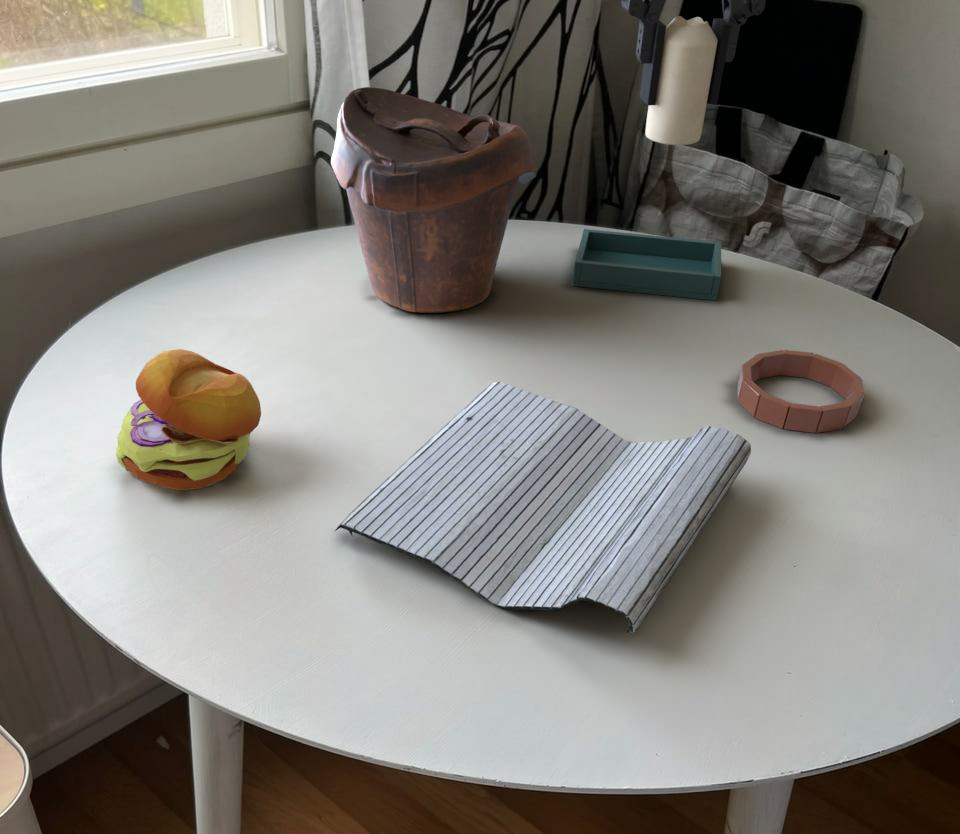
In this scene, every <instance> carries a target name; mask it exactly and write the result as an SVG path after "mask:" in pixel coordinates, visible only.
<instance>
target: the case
mask: <svg viewBox="0 0 960 834" xmlns="http://www.w3.org/2000/svg"><path fill="white" fill-rule="evenodd" d="M533 158H534V157H533V152H532V146H531V142H530V138H529V136H528V134H527V132H526V131H525V130H524V129H523V128H522V127H521V126H520V125H518V124H513V123H509V122H506V121H501V120H497V119H496V118H493V117H492V116H491V115H488V114H486V113H485V114H480V115H478V116H475V115H471V114H466V113H463V112H461V111H459V110H455V109H453V108H450V107H447V106H446V105H445V106H444V105H442V104H439V103H436V102H432V101H429V100H426V99H422V98H419V97H416V96H413V95H409V94H404V93H401V92H397V91H394V90H391V89H387V88H382V87H381V88H380V87H373V86H365V87H359V88H356V89H353V90H351V91H350V92H349V93H348V94H347V95H346V96H345V98H344V100H343V102H342V104H341V106H340V108H339V111H338V115H337V121H336V133H335V140H334V145H333V151H332V154H331V158H330V165H331V168H332V169H333V173H334V174H335V177H336V179H337V180H338V183H339V186H340V187H341V188H343V190H346V195H347V197H348V198H347V199H348V203H349V207H350V210H351V214H352V217H353V221H354V225H355V230H356V233H357V236H358V241H359V246H360V249H361V253H362V256H363V260H364V263H365V264H364V265H365V267H366V271H367V275H368V279H369V284H370V287H371V290H372V291H373V293H374V295H376V296H377V297H378V298H379V299H380V300H381V301H383V302H384V303H387V304H389V305H391V306H393V307H396V308H397V309H400V310H402V311H406V312H411V313H422V314H423V313H424V314H439V313H449V312H450V313H451V312H456V311H462V310H466V309H470V308H474V307H475V306H477V305H479V304H482V303H483V302H484V301H485V300H486V299H487V298H488V297H489V295H490V294H491V290H492V285H493V279H494V275H495V272H496V268H497V263H498V260H499V256H500V252H501V249H502V244H503V241H504V237H505V234H506V230H507V227H508V222H509V219H510V218H509V217H510V214H511V210H512V206H513V202H514V198H515V194H516V190H517V186H518V183H519V184H520V185H524V184H527V183H528V182H531V181H532V180H533V179H535V177H537V171H536V169H535V162H534V159H533Z"/></svg>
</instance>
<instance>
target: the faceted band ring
mask: <svg viewBox="0 0 960 834" xmlns="http://www.w3.org/2000/svg"><path fill="white" fill-rule="evenodd" d="M776 376H786V377H794V378H804V379H809V380H812V381H814V382H817V383H819V384H822V385H825V386H827V387H830V388H832V389H833V390H834V391H835V392H836V393H837V394H839V396H841V397H842V398H843V399H844V401H842V402H836V403H831V404H825V405H820V406H819V405H811V404H803V403H793V402H789V401H787V400H785V399H783V398H780V397H777V396H774V395H772V394H770V393H767V392H765V391H764V390H763V389H762V388H761V387H760V386H759V385H757V384H756V383H755V382H756V381H758V379H764V378H770V377H776ZM736 388H737V402H738V404H739V405H741V406H742V408H743V409H745V410H746V411H747V413H749V414H750V415H751V416H752V417H753V418H754V419H757V420H759V421H762V422H764V423H766V424H769V425H771V426H774V427H776V428H779V429H781V430H785V431H796V432H802V433H812V434H815V433H816V434H819V433H824V432H829V431H835V430H840V429H843V428H845V427H847V425H848V424H850V423H851V422H852V421H853V420H854V419H855V418H857V417H858V414H859V411H860V408H861V405H862V403H863V400H864V396H865V393H866V392H865V387H864V384H863V379H862V378H861V376H859V375H858V374H857V373H856V372H854V371H853V370H852V369H851V368H849V367H848V366H847V365H846V364H845V363H842V362H840V361H838V360H835V359H832V358H829V357H827V356H824V355H822V354H818V353H815V352H811V351H810V352H808V351H800V350H791V349H779V350H773V351H768V352H760V353H758V354H755V355H754V356H753V357H751V358H750V359H748V360H747V361H746V362H745V363H743V364H742V366H741V369H740V374H739V378H738V382H737V386H736Z"/></svg>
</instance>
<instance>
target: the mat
mask: <svg viewBox="0 0 960 834" xmlns="http://www.w3.org/2000/svg"><path fill="white" fill-rule="evenodd" d="M751 454H752V445H751V442H749V441H748V440H747V439H746V438H744V437H743V436H742V435H741V434H738V433H735V432H732V431H729V430H727V429H723V428H720V427H715V426H710V425H707V426H705V427H702V428H699V430H697V432H695V433H694V434H693V435H691V436H688V437H686V438H679V439H678V438H677V439H668V440H664V441H663V440H662V441H642V442H641V441H640V442H635V441H628V440H625V439H624V438H622V437H621V436H619V435H618V434H616V433H615V432H613V431H612V430H610V429H609V428H607V427H606V426H604V425H603V424H601V423H600V422H598V421H597V420H595V419H594V418H593V417H591V416H590V415H588V414H586V413H585V412H583V411H582V410H580V409H579V408H577V407H575V406H572V405H568V404H565V403H562V402H560V401H556V400H553V399H550V398H547V397H545V396H543V395H539V394H537V393H534V392H531V391H528V390H525V389H522V388H519V387H517V386H514V385H512V384H508V383H505V382H501V381H495V382H492V383H489V384H488V385H487V386H486V387H484V389H483V390H482V391H481V392H480V393H478V394H477V395H476V396H475V397H474V398H473V399H472V400H471V401H470V402H469V403H468V404H467V405H465V406H464V407H463V409H461V410H459V412H458V413H457V414H456V415H454V416H453V417H452V419H450V420H449V421H448V422H447V423H446V424H445V425H443V426H442V428H440V429H439V430H438V431H437V432H436V433H435V434H434V435H433V436H431V438H430V439H428V440H427V441H426V442H425V443H424V444H423V445H422V446H421V447H419V449H417V450H416V451H415V452H413V454H412V455H411V456H410V457H409V458H408V459H407V460H405V461H404V463H402V464H401V465H400V466H399V467H398V468H397V469H396V470H395V471H394V472H393V473H392V474H391V475H389V476H388V477H387V478H386V479H385V480H384V481H383V482H382V483H381V484H379V486H377V487H376V488H375V489H374V490H373V491H372V492H371V493H369V495H368V496H367V497H366V498H365V499H364V500H362V501H361V502H360V503H359V504H358V505H357V506H356V507H355V508H354V509H353V510H352V511H350V513H349V514H348V515H347V516H346V517H345V518H344V519H343V521H342V522H341V523H340V524H338V526H337V527H336V528H335V530H334V531H333V533H334V532H336V531H338V530H339V529H343V530H346V531H348V532H349V534H350V535H351V537H352V538H354V536H353V535H354V534H356V535H359V536H362V537H364V538H366V539H368V540H371V541H373V542H376V543H378V544H380V545H381V544H382V545H385V546H387V547H389V548H391V549H394V550H396V551H399V552H401V553H404V554H405V555H409V556H410V557H413V558H415V559H417V560H420V561H422V562H425V563H426V564H428V565H431V566H433V567H435V568H436V569H439V570H440V571H441V572H443V573H445V574H446V575H448V576H450V577H451V578H453V579H455V580H456V581H458V582H460V583H461V584H462V585H463V586H465V587H466V588H468V589H469V590H470V591H472V592H473V593H475V594H477V595H478V596H479V597H481V598H482V599H484V600H486V601H487V602H490V603H491V604H492V605H494V606H496V607H497V608H503V609H510V610H539V611H558V610H561V609H563V608H566V607H568V606H572V604H576V603H578V602H581V601H585V602H592V603H599V604H601V605H603V606H605V607H606V608H609V609H611V610H613V611H615V612H617V613H620V614H621V615H622V616H624V617H625V618H626V619H627V620H628V621H629V625H628V627H627V629H626V633H627V634H629V633H631V634H634V633H635V632H636V630H637V629H638V628H639V626H641V624H642V623H643V621H644V620H645V619H646V617H647V616H648V614H649V613H650V612H651V610H652V609H653V606H654V605H655V603H656V601H657V600H658V598H659V596H660V595H661V593H662V591H663V590H664V589H665V588H666V586H667V585H668V583H669V582H670V581H671V579H672V577H673V575H674V574H675V572H676V571H677V570H678V567H679V566H680V564H681V562H682V561H683V560H684V558H685V556H686V555H687V553H688V551H689V550H690V549H691V547H692V545H693V543H694V542H695V541H696V539H697V538H698V536H699V535H700V533H701V531H702V530H703V529H704V527H705V526H706V524H707V523H708V521H709V520H710V518H711V516H712V515H713V513H714V512H715V511H716V509H717V508H718V506H719V504H720V503H721V502H722V500H723V498H724V497H725V496H726V494H727V493H728V491H729V489H730V488H731V486H732V485H733V483H734V482H735V481H736V479H737V478H738V476H739V474H740V473H741V472H742V470H743V469H744V467H745V466H746V464H747V462H748V460H749V458H750V456H751ZM353 533H354V534H353Z"/></svg>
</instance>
